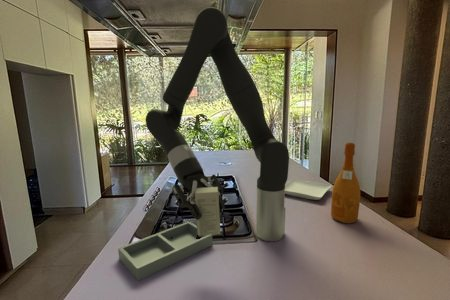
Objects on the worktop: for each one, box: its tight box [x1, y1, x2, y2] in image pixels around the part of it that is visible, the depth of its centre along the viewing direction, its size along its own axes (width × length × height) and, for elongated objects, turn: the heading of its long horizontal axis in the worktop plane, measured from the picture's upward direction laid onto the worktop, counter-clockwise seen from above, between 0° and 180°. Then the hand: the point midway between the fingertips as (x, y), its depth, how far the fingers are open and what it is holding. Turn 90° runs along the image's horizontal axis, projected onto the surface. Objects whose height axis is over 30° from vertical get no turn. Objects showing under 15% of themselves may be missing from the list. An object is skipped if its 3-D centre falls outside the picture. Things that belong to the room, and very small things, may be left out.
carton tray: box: [117, 221, 213, 281], centre depth 80 cm, size 25×13×4 cm, turn 132°
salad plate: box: [285, 178, 333, 201], centre depth 131 cm, size 21×21×3 cm
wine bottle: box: [330, 142, 361, 224], centre depth 99 cm, size 10×10×30 cm
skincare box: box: [194, 187, 221, 236], centre depth 71 cm, size 6×4×12 cm
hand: (211, 213), depth 70 cm, fingers closed on skincare box, 7 cm apart
